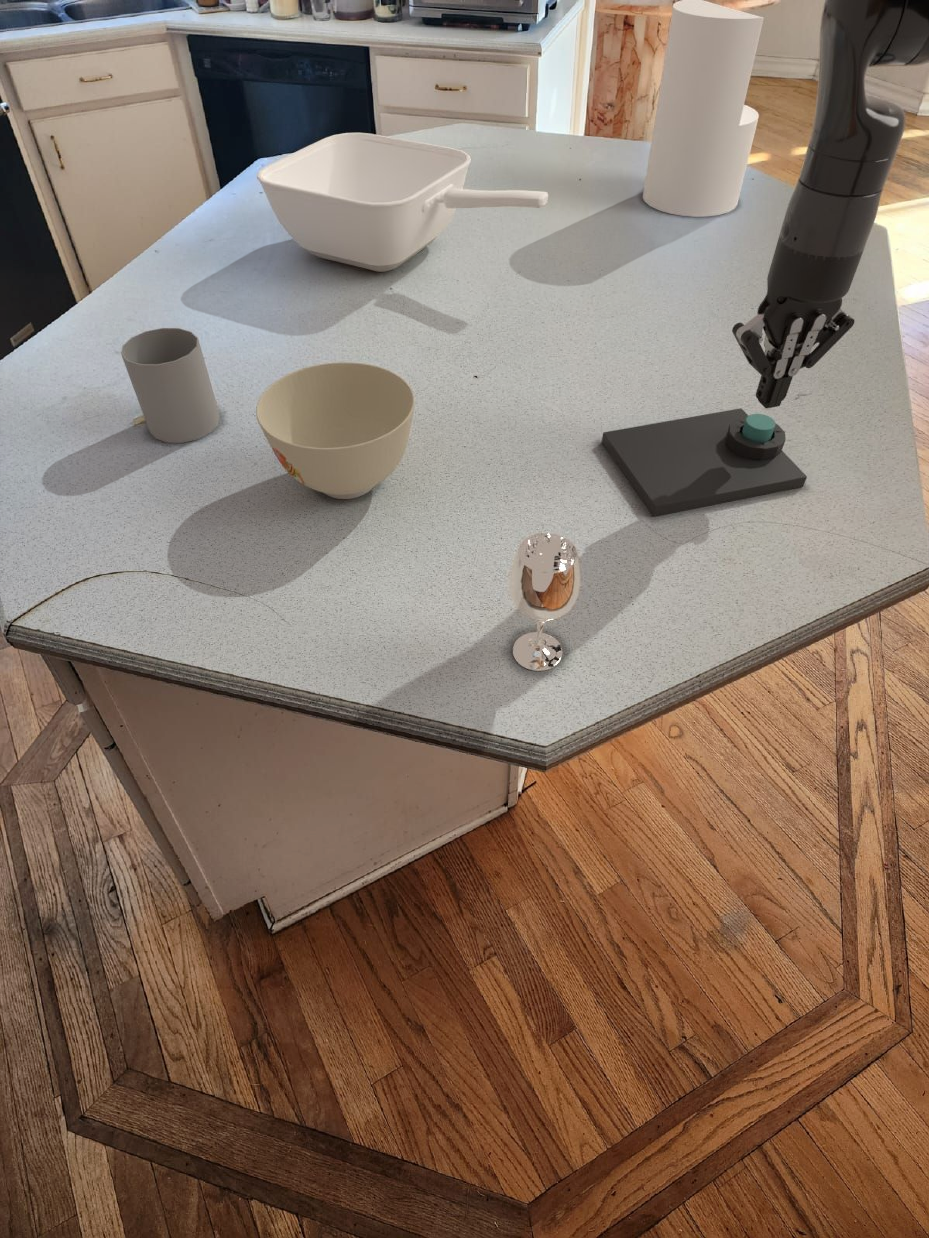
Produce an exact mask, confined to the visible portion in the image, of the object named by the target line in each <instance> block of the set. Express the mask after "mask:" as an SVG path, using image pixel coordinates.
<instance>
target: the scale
mask: <svg viewBox="0 0 929 1238" xmlns="http://www.w3.org/2000/svg"><path fill="white" fill-rule="evenodd" d="M748 416H749V414H748V413H746V411H745V410H744V409H743V408H742V407H741V408H740V407H739V408H734V409H729V410H723V411H716V412H711V413H707V414H706V413H705V414H701V415H695V416H689V417H683V418H677V419H672V420H667V421H666V420H665V421H660V422H655V423H649V424H643V425H637V426H632V427H626V428H620V429H615V430H609V431H604V432H602V437H601V444H602V445H603V447H604V448H605V449H606V451H607V452H608V454H609V455H610V457H611V458H612V460H613V461H614V462H615V463H616V465H617V467H618V468H619V469H620V471H621V472H622V474H623V476H624V477H625V478H626V479H627V481H628V482H629V484H630V485H631V487H632V489H634V491H635V492H636V494H637V495H638V497H639V498H640V500H641V501H642V502H643V504H644V505H645V506H646V509H648V511H649V512H650V514H651V515H652V517H659V516H664V515H668V514H669V515H670V514H674V513H678V512H683V511H688V510H689V511H690V510H693V509H699V508H703V507H708V506H713V505H714V506H715V505H719V504H723V503H728V502H734V501H739V500H745V499H749V498H753V497H754V498H755V497H759V496H765V495H769V494H773V493H779V492H784V491H790V490H793V489H799V488H803V487H804V486H805V483H806V481H807V478H808V476H807V475H806V474H805V472H804V471H802V469H800V467H799V466H798V465H796V463H795V462H794V461H793V460H792V459H791V458H790V456H788V455H787V454H786V453H785V452H784V451H783V448H784V446H785V442H786V432H785V430H784V429H783V428H782V427H781V426H780V425H778V424H777V423H776V422H775V428H774V431H773V434H772V436H771V439H770V440H769V441H767V442H755V441H751V440H749V439H747V438H744V436H743V435H742V430H743V427H744V424H745V420H746V418H747V417H748Z"/></svg>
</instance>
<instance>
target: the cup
mask: <svg viewBox="0 0 929 1238" xmlns="http://www.w3.org/2000/svg"><path fill="white" fill-rule="evenodd" d="M120 355H121V358H122V360H123V363H124V366H125V369H126V372H127V374H128V377H129V379H130V383H131V385H132V389H133V391H134V393H135V396H136V399H137V402H138V404H139V407H140V410H141V412H142V415H143V417H144V421H145V422H146V426H147V429H148V431H149V433H150V434H151V436H152V437H153V438H154V439H156V440H158V441H161V442H165V443H167V444H184V443H188V442H193V441H197V440H201V439H202V438H204V437H206V436H208V435H210V434H211V433H213V432H214V431H215V429H216V428H217V427H218V426H219V425H220V422H221V421H220V419H221V418H220V417H221V416H220V411H219V407H218V404H217V400H216V397H215V392H214V389H213V386H212V382H211V378H210V374H209V372H208V369H207V364H206V360H205V357H204V354H203V351H202V346H201V343H200V340H199V337H197V336H196V335H195V333H193V332H192V331H191V330H186V329H183V328H180V327H161V328H156V329H155V328H154V329H150V330H146V331H143V332H141V333H139V334H136V335H134V336H132V337H130V339H128V340H127V341H126V342H125V343H123V345H122V347H121V352H120Z"/></svg>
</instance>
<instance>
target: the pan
mask: <svg viewBox="0 0 929 1238" xmlns="http://www.w3.org/2000/svg"><path fill="white" fill-rule="evenodd" d="M471 162H472V160H471V155H470V154H468V153H467V152H465V151H464V150H462V149H457V148H454V147H449V146H444V145H439V144H433V143H426V142H421V141H414V140H411V139H409V140H408V139H403V138H397V137H393V136H386V135H380V134H376V133H375V134H374V133H367V132H345V133H344V132H343V133H339V134H338V133H337V134H333V135H330V136H326V137H324V138H322V139H320V140H317V141H316V142H313V143H311V144H309V145H307V146H305V147H302V148H301V149H298V150H297V151H295V152H293V153H290V154H289V155H286V156H284V157H282V158H280V159H278V160H276V161H274V162H272V163H270V164H268V165H265V166H264V167H262V168H261V169H259V170H258V172H257V175H256V179H257V180H258V181H259V183H260V185H261V188H262V189H263V192H264V194H265V196H266V199H267V200H268V203H269V205H270V207H271V209H272V211H273V214H274V215H275V217H276V219H277V220H278V222H279V224H280V225H281V226H282V227H283V229H284V230H285V232H287V233H288V235H289V236H290V237H291V238H292V240H293V241H295V243H297V244H298V245H299V246H300V247H301V248H303V249H304V250H305V251H307V252H308V253H309V254H311V255H313V256H315V257H317V258H320V259H325V260H329V261H333V262H337V263H340V264H341V263H342V264H346V265H350V266H353V267H357V268H361V269H367V270H370V271H375V272H378V273H379V272H380V273H382V272H384V273H385V272H390V271H392V270H395V269H397V268H399V267H400V266H401V265H403V264H404V263H406V262H408V260H410V259H411V258H413V257H414V256H415V255H417V254H418V253H419V252H421V251H422V250H424V249H425V248H427V247H428V246H429V245H431V244H432V243H433V242H434V241H435V240H436V239H437V238H438V237H439V236H440V235H441V234H442V233H443V232H444V231H445V229H446V228H447V226H448V225H449V224H450V222H451V220H452V219H453V217H454V215H455V213H456V211H457V209H477V208H479V209H480V208H501V207H502V208H503V207H504V208H505V207H514V208H515V207H516V208H532V209H533V208H534V209H540V208H542V207H544V206H545V205H546V204H547V203H548V200H549V193H548V192H547V191H539V190H538V191H537V190H524V189H523V190H522V189H506V190H505V189H504V190H503V189H501V190H481V189H469V188H468V189H467V188H464V186H465V182H466V178H467V173H468V169H469V166H470V164H471Z"/></svg>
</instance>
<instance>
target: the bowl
mask: <svg viewBox="0 0 929 1238" xmlns="http://www.w3.org/2000/svg"><path fill="white" fill-rule="evenodd" d="M415 404H416V399H415V394H414V391H413V390H412V387H411V386H410V384H409V383H408V382H407V381H406V380H405V379H403V378H402V377H401V376H400V375H398V374H396V373H395V372H393V371H391V370H390V369H389V370H388V369H387V368H383V367H380V366H377V365H373V364H370V363H369V364H368V363H362V362H348V361H347V362H344V361H342V362H341V361H340V362H339V361H338V362H328V363H321V364H315V365H311V366H307V367H304V368H303V367H302V368H301V369H298V370H295V371H292V372H290V373H288V374H286V375H283V376H282V377H280V378H278V379H277V380H275V381H274V382H273V383H272V384H270V385H269V386H268V387H267V388H266V389H265V390H264V391H263V393H262V394H261V395H260V397H259V399H258V401H257V403H256V407H255V414H256V420H257V423H258V425H259V427H260V429H261V431H262V433H263V435H264V437H265V439H266V441H267V443H268V444H269V447H271V450H272V451H273V453H274V455H275V457H276V458H277V461H278V462H279V463H280V465H281V467H283V468H284V470H285V471H286V472H287V473H288V474H289V475H290V476H291V478H293V479H294V480H295V481H297V482H299V483H300V484H302V485H303V486H305V487H307V488H309V489H312V490H314V491H317V492H320V493H323V494H324V495H326V496H328V497H330V498H333V499H338V500H352V499H357V498H359V497H362V496H365V495H366V494H368V493H369V492H370V491H371V490H372V489H374V487H375V486H377V485H379V484H380V483H381V482H383V481H385V480H386V479H387V478H388V477H389V476H390V475H391V474H392V473H393V472H394V470H396V469H397V467H398V466H399V464H400V463H401V460H402V458H403V456H404V454H405V452H406V449H407V447H408V442H409V437H410V432H411V428H412V421H413V418H414V417H413V416H414V411H415Z"/></svg>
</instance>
